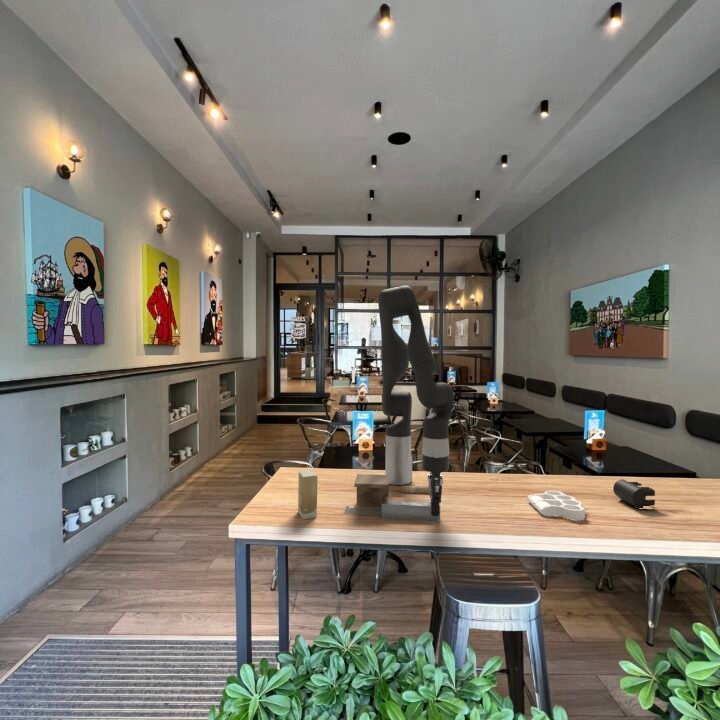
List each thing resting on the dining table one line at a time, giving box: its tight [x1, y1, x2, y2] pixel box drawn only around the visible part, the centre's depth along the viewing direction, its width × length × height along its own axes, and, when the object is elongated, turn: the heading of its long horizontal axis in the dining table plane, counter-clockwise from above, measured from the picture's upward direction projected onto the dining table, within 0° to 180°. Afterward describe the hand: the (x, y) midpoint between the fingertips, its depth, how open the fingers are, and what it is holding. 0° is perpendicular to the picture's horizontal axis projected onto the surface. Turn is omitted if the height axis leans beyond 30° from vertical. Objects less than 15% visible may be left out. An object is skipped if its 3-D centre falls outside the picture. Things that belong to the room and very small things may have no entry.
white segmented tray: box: [526, 490, 588, 520], centre depth 130 cm, size 3×18×15 cm
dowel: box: [400, 485, 430, 495], centre depth 145 cm, size 10×2×2 cm, turn 86°
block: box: [387, 496, 405, 502], centre depth 127 cm, size 5×5×4 cm
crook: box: [380, 495, 441, 521], centre depth 125 cm, size 16×8×4 cm, turn 85°
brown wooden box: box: [353, 473, 390, 506], centre depth 129 cm, size 10×10×9 cm
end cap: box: [612, 478, 656, 509], centre depth 135 cm, size 10×7×7 cm
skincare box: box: [297, 469, 318, 520], centre depth 124 cm, size 6×4×12 cm
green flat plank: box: [343, 505, 382, 516], centre depth 127 cm, size 25×6×1 cm, turn 85°
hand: (434, 513), depth 122 cm, fingers closed on crook, 2 cm apart
